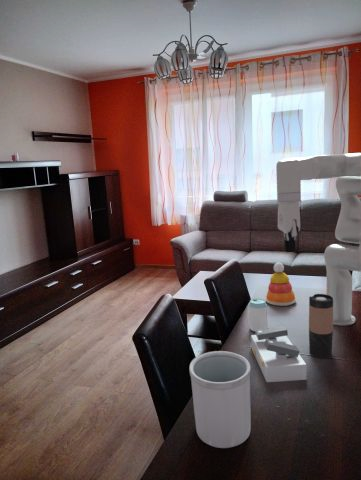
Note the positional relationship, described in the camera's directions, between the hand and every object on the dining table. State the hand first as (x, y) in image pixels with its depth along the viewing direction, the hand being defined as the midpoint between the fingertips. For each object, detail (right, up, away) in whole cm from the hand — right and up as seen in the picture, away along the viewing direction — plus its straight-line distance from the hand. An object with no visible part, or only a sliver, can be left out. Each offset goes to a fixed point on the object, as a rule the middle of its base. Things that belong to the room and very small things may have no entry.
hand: (290, 251), depth 128 cm
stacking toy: (+10, -26, +50) cm, 57 cm away
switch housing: (-6, -37, -4) cm, 37 cm away
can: (-6, -32, +22) cm, 39 cm away
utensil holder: (-27, -44, -33) cm, 61 cm away
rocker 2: (-6, -31, -10) cm, 33 cm away
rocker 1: (-6, -29, 0) cm, 29 cm away
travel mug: (+11, -35, +1) cm, 37 cm away
